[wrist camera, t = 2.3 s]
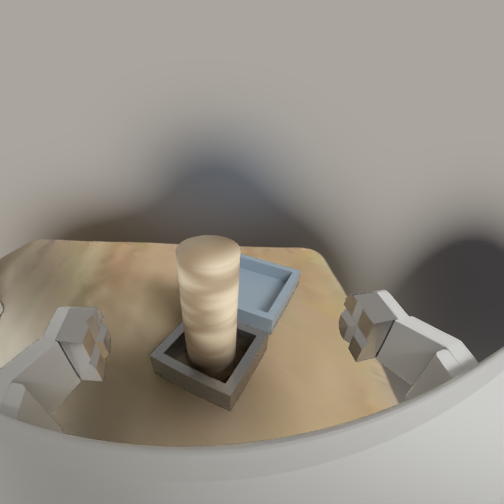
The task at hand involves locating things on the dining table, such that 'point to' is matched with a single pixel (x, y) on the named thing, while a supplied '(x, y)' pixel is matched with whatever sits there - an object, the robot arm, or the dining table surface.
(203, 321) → the peg
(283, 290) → the tray
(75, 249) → the dining table surface
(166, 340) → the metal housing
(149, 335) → the dining table surface
